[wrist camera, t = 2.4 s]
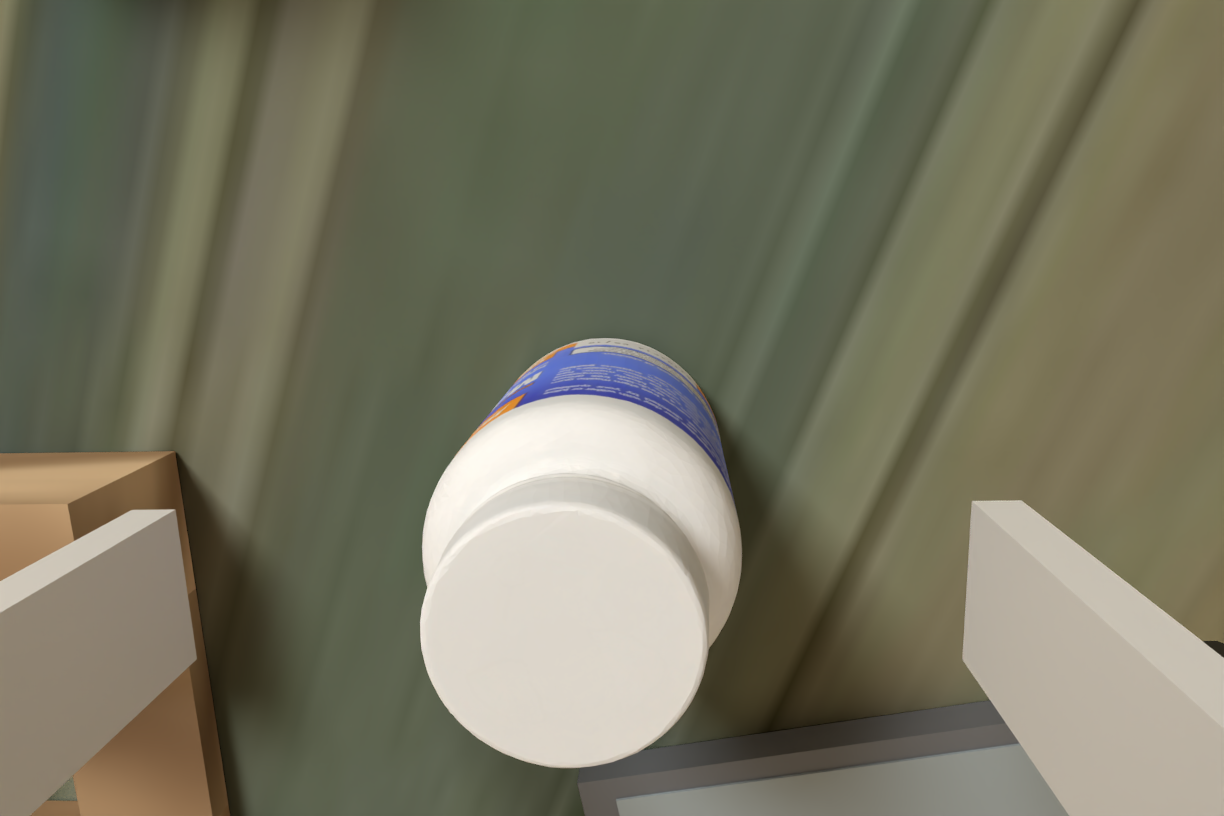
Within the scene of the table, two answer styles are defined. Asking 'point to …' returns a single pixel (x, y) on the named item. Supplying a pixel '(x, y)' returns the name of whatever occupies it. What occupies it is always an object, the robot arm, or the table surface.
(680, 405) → the pill bottle
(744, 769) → the phone slab
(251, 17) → the table surface
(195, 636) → the socket holder
